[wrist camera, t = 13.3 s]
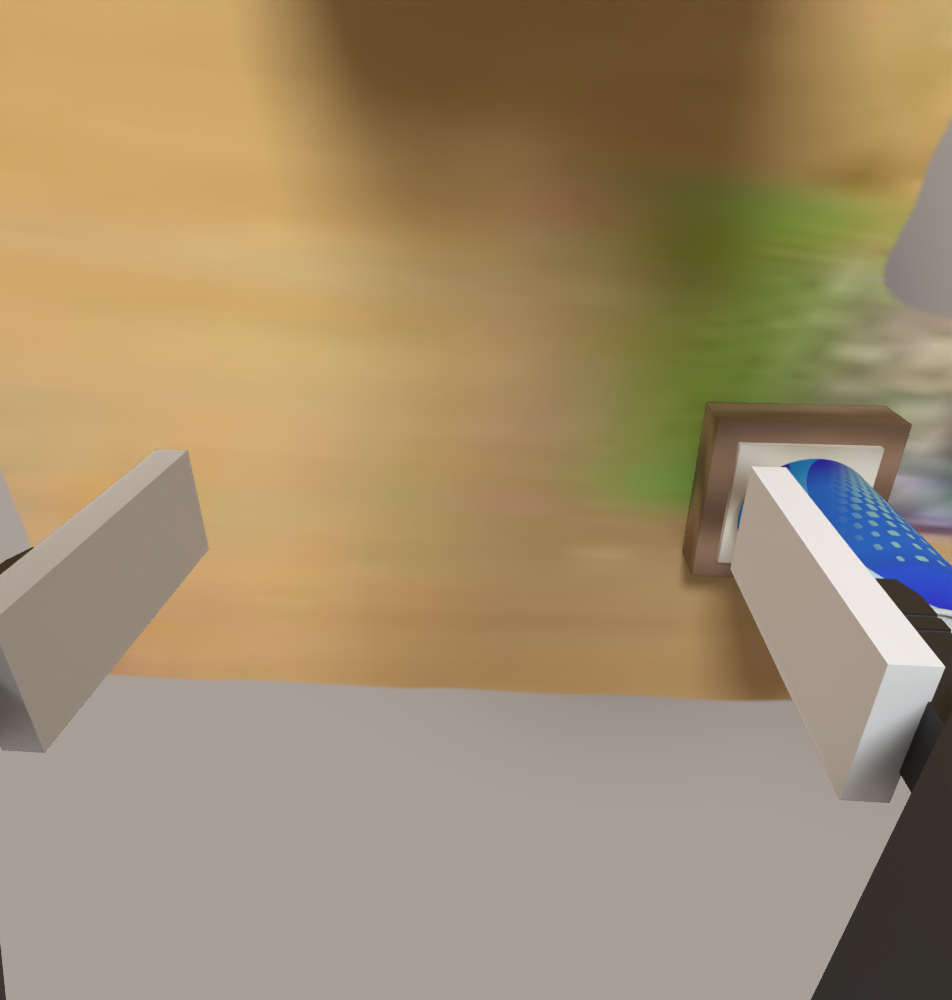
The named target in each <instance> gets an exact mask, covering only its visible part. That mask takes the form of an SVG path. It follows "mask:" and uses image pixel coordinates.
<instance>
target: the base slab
mask: <svg viewBox="0 0 952 1000" xmlns="http://www.w3.org/2000/svg"><path fill="white" fill-rule="evenodd" d="M911 426H912V424H910V423H909V422H907V421H906V420H905V419H903V418H902V417H901V416H899V415H898V414H896V413H895V412H894V411H892V410H891V409H889V408H888V407H887V406H855V405H811V404H767V403H724V402H707V403H706V409H705V415H704V421H703V427H702V433H701V439H700V446H699V452H698V458H697V464H696V470H695V476H694V482H693V488H692V495H691V501H690V507H689V513H688V519H687V525H686V531H685V537H684V544H683V553H684V556H685V558H686V561H687V564H688V566H689V569H690V572H691V574H692V575H694V576H720V577H734V576H733V574H732V572H731V569H730V568H731V563H732V558H733V554H734V549H735V544H736V539H737V534H738V528H737V520H738V514H739V510H740V507H741V504H742V502H743V500H744V498H745V495H746V490H747V485H748V480H749V475H750V470H751V466H755V467H780V466H782V465H785V464H788V463H791V462H794V461H798V460H803V459H815V458H817V459H828V460H833V461H837V462H840V463H842V464H844V465H846V466H848V467H850V468H852V469H853V470H855V471H856V472H857V473H858V474H859V475H860V476H861V477H862V478H863V479H864V480H865V481H866V482H867V483H868V484H869V485H870V486H871V487H872V488H873V489H874V490H875V491H876V492H877V493H878V494H879V495H880V496H881V497H882V498H883V499H884V500H885V501H886V502H888V499H889V496H890V493H891V490H892V487H893V483H894V480H895V477H896V474H897V471H898V467H899V464H900V461H901V458H902V455H903V452H904V448H905V445H906V442H907V439H908V436H909V432H910V429H911Z"/></svg>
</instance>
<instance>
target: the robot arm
mask: <svg viewBox="0 0 952 1000" xmlns="http://www.w3.org/2000/svg"><path fill="white" fill-rule="evenodd" d="M208 549H209V548H208V543H207V538H206V534H205V529H204V524H203V520H202V515H201V510H200V505H199V501H198V496H197V491H196V487H195V482H194V477H193V473H192V468H191V463H190V459H189V454H188V450H165V449H156V450H155V451H154V452H153V453H151V454H150V455H149V456H148V457H146V458H145V459H144V460H143V461H141V462H140V463H139V464H138V465H136V466H135V467H134V468H133V469H131V470H130V471H129V472H128V473H126V474H125V475H124V476H123V477H121V478H120V479H119V480H118V481H116V482H115V483H114V484H113V485H111V486H110V487H109V488H108V489H107V490H105V491H104V492H103V493H102V494H100V495H99V496H98V497H97V498H95V499H94V500H93V501H92V502H90V503H89V504H88V505H87V506H85V507H84V508H83V509H82V510H80V511H79V512H78V513H77V514H75V515H74V516H73V517H72V518H70V519H69V520H68V521H67V522H65V523H64V524H63V525H62V526H60V527H59V528H58V529H57V530H55V531H54V532H53V533H52V534H50V535H49V536H48V537H47V538H45V539H44V540H43V541H42V542H40V543H39V544H38V545H37V546H35V547H32V548H30V549H28V550H26V551H24V552H22V553H20V554H18V555H16V556H14V557H11V558H9V559H7V560H5V561H4V562H3V563H1V564H0V747H1V749H2V750H9V751H26V752H42V753H44V752H46V750H47V749H48V748H49V747H50V745H51V744H52V743H53V742H54V740H55V739H56V738H57V737H58V735H59V734H60V733H61V731H63V729H64V728H65V727H66V726H67V724H68V723H69V722H70V721H71V719H72V718H73V717H74V716H75V714H76V713H77V712H78V710H79V709H80V708H81V707H82V706H83V704H84V703H85V702H86V701H87V699H88V698H89V697H90V696H91V695H92V693H93V692H94V691H95V690H96V688H97V687H98V686H99V684H100V683H101V682H102V681H103V680H104V678H105V677H106V676H107V675H108V673H109V672H110V671H111V670H112V668H113V667H114V666H115V665H116V664H117V662H118V661H119V660H120V659H121V657H122V656H123V655H124V654H125V652H126V651H127V650H128V649H129V647H130V646H131V645H132V644H133V642H134V641H135V640H136V639H137V637H138V636H139V635H140V634H141V632H142V631H143V630H144V629H145V628H146V626H147V625H148V624H149V623H150V621H151V620H152V619H153V618H154V616H155V615H156V614H157V613H158V611H159V610H160V609H161V608H162V606H163V605H164V604H165V603H166V601H167V600H168V599H169V598H170V596H171V595H172V594H173V593H174V592H175V590H176V589H177V588H178V587H179V585H180V584H181V583H182V582H183V580H184V579H185V578H186V577H187V575H188V574H189V573H190V572H191V570H192V569H193V568H194V567H195V565H196V564H197V563H198V562H199V560H200V559H201V558H202V557H203V556H204V554H205V553H206V552H207V551H208ZM730 569H731V572H732V574H733V576H734V578H735V580H736V582H737V584H738V586H739V588H740V591H741V593H742V595H743V597H744V599H745V601H746V603H747V605H748V608H749V610H750V612H751V614H752V616H753V618H754V620H755V622H756V624H757V627H758V629H759V631H760V633H761V635H762V637H763V639H764V641H765V644H766V646H767V648H768V650H769V652H770V654H771V656H772V658H773V660H774V663H775V665H776V667H777V669H778V671H779V673H780V675H781V677H782V680H783V682H784V684H785V686H786V688H787V690H788V692H789V694H790V696H791V699H792V701H793V703H794V705H795V707H796V709H797V711H798V713H799V715H800V718H801V720H802V722H803V724H804V726H805V728H806V730H807V732H808V734H809V737H810V739H811V741H812V743H813V745H814V747H815V749H816V751H817V753H818V756H819V758H820V760H821V762H822V764H823V766H824V768H825V770H826V772H827V774H828V777H829V779H830V781H831V783H832V785H833V787H834V789H835V792H836V794H837V796H838V798H839V800H850V801H866V802H883V803H890V801H891V798H892V796H893V794H894V791H895V789H896V786H897V784H898V781H899V779H900V776H902V777H903V779H904V781H905V783H906V784H907V786H908V788H909V790H910V791H911V795H910V797H909V799H908V802H907V803H906V805H905V807H904V810H903V811H902V814H901V816H900V818H899V820H898V822H897V824H896V826H895V828H894V830H893V832H892V834H891V836H890V838H889V840H888V842H887V845H886V846H885V848H884V851H883V853H882V855H881V857H880V859H879V861H878V863H877V865H876V867H875V869H874V871H873V873H872V875H871V877H870V879H869V882H868V883H867V886H866V888H865V890H864V892H863V894H862V896H861V898H860V900H859V902H858V904H857V906H856V908H855V910H854V912H853V914H852V916H851V918H850V921H849V923H848V925H847V927H846V929H845V931H844V933H843V935H842V937H841V939H840V941H839V943H838V945H837V947H836V949H835V952H834V953H833V955H832V958H831V960H830V962H829V964H828V966H827V968H826V970H825V972H824V974H823V976H822V978H821V980H820V982H819V985H818V986H817V988H816V990H815V992H814V994H813V997H812V999H811V1000H952V633H951V629H950V628H949V627H948V626H947V624H946V623H945V622H944V621H943V620H942V619H941V618H938V614H937V613H936V612H935V611H934V609H933V608H932V607H931V606H930V605H929V604H928V603H927V601H926V600H925V599H924V598H923V597H922V596H921V595H920V594H918V593H917V592H915V591H913V590H912V589H910V588H909V587H907V586H906V585H904V584H903V583H901V582H900V581H898V580H897V579H882V578H874V577H873V576H872V574H871V573H870V572H869V571H868V569H867V568H866V567H865V566H864V564H863V563H862V562H861V561H860V559H859V558H858V557H857V556H856V554H855V553H854V552H853V551H852V549H851V548H850V547H849V546H848V544H847V543H846V542H845V541H844V539H843V538H842V537H841V536H840V534H839V533H838V532H837V531H836V529H835V528H834V527H833V526H832V524H831V523H830V522H829V521H828V519H827V518H826V517H825V516H824V514H823V513H822V512H821V510H820V509H819V508H818V507H817V505H816V504H815V503H814V502H813V500H812V499H811V498H810V497H809V495H808V494H807V493H806V492H805V490H804V489H803V488H802V487H801V485H800V484H799V483H798V482H797V480H796V479H795V478H794V477H793V475H792V474H791V473H790V472H789V470H788V469H787V468H786V467H755V466H751V470H750V475H749V480H748V485H747V490H746V495H745V500H744V505H743V510H742V514H741V519H740V524H739V529H738V534H737V539H736V544H735V549H734V554H733V558H732V563H731V568H730ZM0 1000H6V997H5V986H4V976H3V966H2V957H1V947H0Z"/></svg>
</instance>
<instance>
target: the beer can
mask: <svg viewBox="0 0 952 1000" xmlns="http://www.w3.org/2000/svg"><path fill="white" fill-rule="evenodd" d="M780 467H786V468H787V469H788V470H789V472H790V473H791V474H792V475H793V477H794V478H795V479H796V480H797V482H798V483H799V484H800V485H801V487H802V488H803V489H804V490H805V492H806V493H807V494H808V495H809V497H810V498H811V499H812V500H813V502H814V503H815V504H816V505H817V507H818V508H819V509H820V510H821V512H822V513H823V514H824V516H825V517H826V518H827V519H828V521H829V522H830V523H831V524H832V526H833V527H834V528H835V529H836V531H837V532H838V533H839V534H840V536H841V537H842V538H843V539H844V541H845V542H846V543H847V544H848V546H849V547H850V548H851V549H852V551H853V552H854V553H855V554H856V556H857V557H858V558H859V559H860V561H861V562H862V563H863V564H864V566H865V567H866V568H867V569H868V571H869V572H870V573H871V574H872V576H873V577H874V578H882V579H897V580H898V581H900V582H901V583H903V584H904V585H906V586H907V587H909V588H910V589H912V590H913V591H915V592H917V593H918V594H920V595H921V596H922V597H923V598H924V599H925V600H926V601H927V603H928V604H929V605H930V606H931V607H932V608H933V609H934V611H935V612H936V613H937V614H938V618H941V619H942V620H943V621H944V622H945V623H946V624H947V626H948V627H949V628H950V629H951V633H952V566H951V565H950V564H949V563H948V562H947V561H946V560H945V559H944V558H943V557H942V556H941V555H940V554H939V553H938V552H937V551H936V550H935V549H934V548H933V547H932V546H931V545H930V544H929V543H928V542H927V541H926V540H925V539H924V538H923V537H922V536H921V535H920V534H919V533H918V532H917V531H916V530H915V529H914V528H913V527H912V526H911V525H910V524H909V523H908V522H907V521H906V520H904V519H903V518H902V517H901V516H900V515H899V514H898V513H897V512H896V511H895V510H894V509H893V508H892V507H891V506H890V505H889V504H888V503H887V502H886V501H885V500H884V499H883V498H882V497H881V496H880V495H879V494H878V493H877V492H876V491H875V490H874V489H873V488H872V487H871V486H870V485H869V484H868V483H867V482H866V481H865V480H864V479H863V478H862V477H861V476H860V475H859V474H858V473H857V472H856V471H855V470H853V469H852V468H850V467H848V466H846V465H844V464H842V463H840V462H837V461H833V460H828V459H817V458H815V459H803V460H798V461H794V462H791V463H788V464H785V465H782V466H780ZM744 500H745V498H744ZM744 500H743V502H742V504H741V507H740V510H739V514H738V520H737V528H738V529H739V524H740V519H741V514H742V510H743V505H744Z"/></svg>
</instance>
